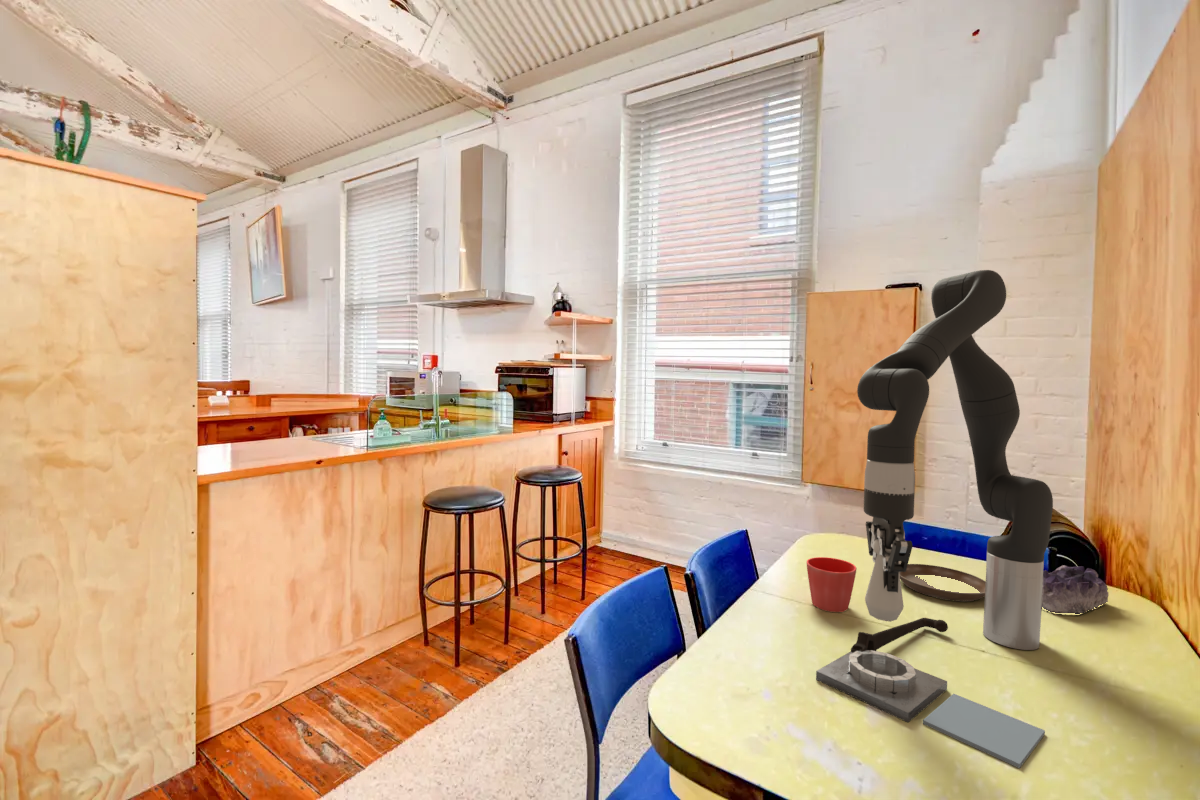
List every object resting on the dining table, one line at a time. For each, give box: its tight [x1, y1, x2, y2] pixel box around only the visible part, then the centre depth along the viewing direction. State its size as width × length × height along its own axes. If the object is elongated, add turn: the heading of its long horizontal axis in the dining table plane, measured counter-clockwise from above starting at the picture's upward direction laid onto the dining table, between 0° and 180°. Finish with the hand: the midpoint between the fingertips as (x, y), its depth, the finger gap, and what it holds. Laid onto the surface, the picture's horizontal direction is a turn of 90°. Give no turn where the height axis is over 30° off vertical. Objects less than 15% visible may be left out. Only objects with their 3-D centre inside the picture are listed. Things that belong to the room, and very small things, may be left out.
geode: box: [1042, 564, 1109, 614], centre depth 132 cm, size 20×12×10 cm, turn 123°
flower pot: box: [806, 556, 857, 613], centre depth 128 cm, size 11×11×10 cm
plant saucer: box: [899, 563, 986, 602], centre depth 141 cm, size 21×21×3 cm
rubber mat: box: [922, 693, 1046, 769], centre depth 83 cm, size 12×12×1 cm
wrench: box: [850, 617, 949, 653], centre depth 107 cm, size 5×5×30 cm
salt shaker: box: [864, 539, 905, 622], centre depth 94 cm, size 6×6×13 cm
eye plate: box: [815, 650, 948, 723], centre depth 95 cm, size 15×15×4 cm
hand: (885, 588), depth 94 cm, fingers closed on salt shaker, 3 cm apart
